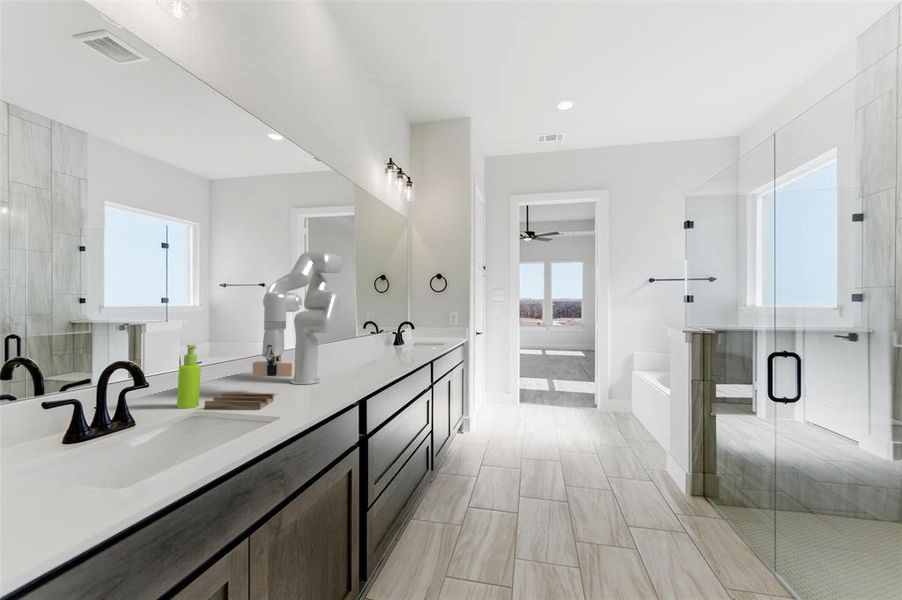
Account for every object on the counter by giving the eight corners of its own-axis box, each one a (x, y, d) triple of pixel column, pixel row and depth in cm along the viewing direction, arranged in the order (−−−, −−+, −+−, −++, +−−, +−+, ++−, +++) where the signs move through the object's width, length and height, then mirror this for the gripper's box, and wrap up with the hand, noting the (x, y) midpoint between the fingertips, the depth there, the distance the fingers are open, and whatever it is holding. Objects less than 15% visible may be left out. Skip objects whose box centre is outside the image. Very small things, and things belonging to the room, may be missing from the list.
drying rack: (222, 400, 134) (223, 393, 134) (273, 400, 135) (273, 393, 135) (204, 409, 122) (204, 401, 122) (260, 409, 123) (260, 401, 123)
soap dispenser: (178, 410, 119) (181, 346, 120) (175, 405, 125) (179, 344, 125) (200, 407, 123) (203, 345, 124) (197, 403, 128) (200, 343, 129)
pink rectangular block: (256, 374, 145) (256, 361, 145) (294, 374, 146) (294, 361, 146) (252, 376, 142) (252, 362, 142) (291, 376, 143) (291, 363, 143)
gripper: (272, 323, 152) (271, 369, 152) (255, 327, 135) (254, 379, 135) (292, 324, 152) (291, 370, 153) (277, 328, 136) (276, 379, 136)
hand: (273, 373), depth 144 cm, fingers closed on pink rectangular block, 3 cm apart
